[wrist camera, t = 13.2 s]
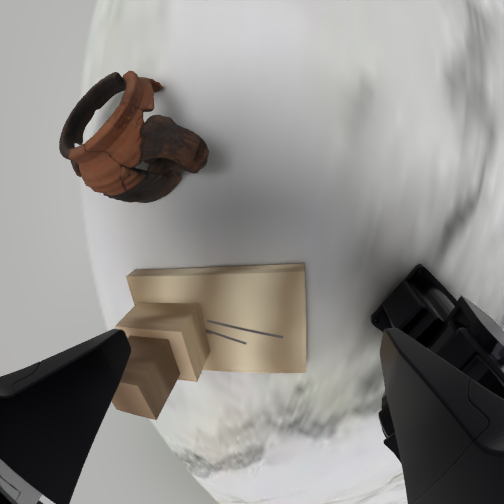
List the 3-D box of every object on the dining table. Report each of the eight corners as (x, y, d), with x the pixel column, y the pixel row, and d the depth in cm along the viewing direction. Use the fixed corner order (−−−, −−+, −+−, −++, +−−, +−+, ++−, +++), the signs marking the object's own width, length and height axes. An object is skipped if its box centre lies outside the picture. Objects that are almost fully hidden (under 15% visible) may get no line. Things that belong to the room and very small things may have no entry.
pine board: (304, 263, 21) (304, 271, 20) (306, 361, 24) (306, 372, 23) (134, 269, 24) (126, 276, 22) (161, 355, 27) (155, 364, 25)
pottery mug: (105, 203, 23) (36, 171, 15) (145, 116, 23) (92, 68, 16) (214, 232, 19) (135, 186, 11) (256, 117, 19) (214, 39, 12)
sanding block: (199, 303, 22) (151, 380, 14) (210, 351, 23) (175, 429, 15) (138, 302, 23) (79, 364, 15) (153, 346, 25) (108, 411, 16)
